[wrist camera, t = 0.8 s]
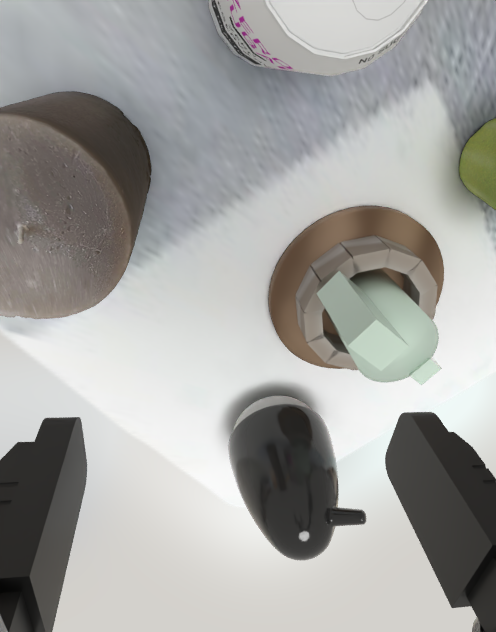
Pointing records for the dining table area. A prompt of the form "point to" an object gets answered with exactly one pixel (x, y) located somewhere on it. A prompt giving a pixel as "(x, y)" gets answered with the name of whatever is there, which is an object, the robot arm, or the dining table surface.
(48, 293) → the pillar candle
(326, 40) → the supplement can
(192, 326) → the dining table surface
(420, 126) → the dining table surface
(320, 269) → the stone ring brown dish
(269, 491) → the dark rounded figure
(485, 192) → the plant pot
